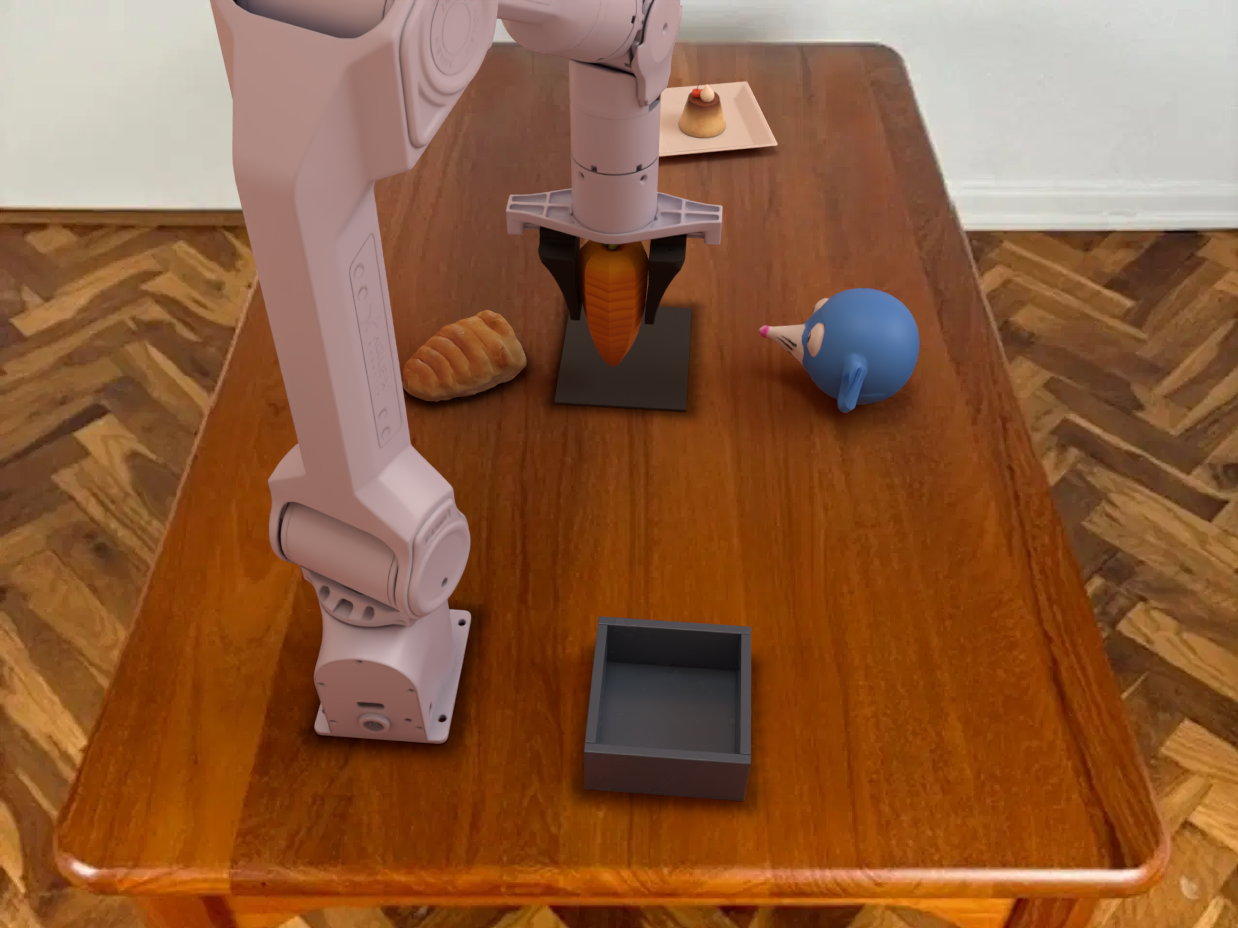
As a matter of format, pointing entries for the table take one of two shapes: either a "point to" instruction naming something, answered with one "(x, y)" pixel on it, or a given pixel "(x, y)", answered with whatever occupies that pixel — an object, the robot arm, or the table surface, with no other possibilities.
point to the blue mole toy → (854, 346)
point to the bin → (669, 709)
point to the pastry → (464, 359)
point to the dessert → (711, 120)
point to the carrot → (613, 295)
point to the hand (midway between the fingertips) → (613, 313)
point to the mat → (629, 366)
